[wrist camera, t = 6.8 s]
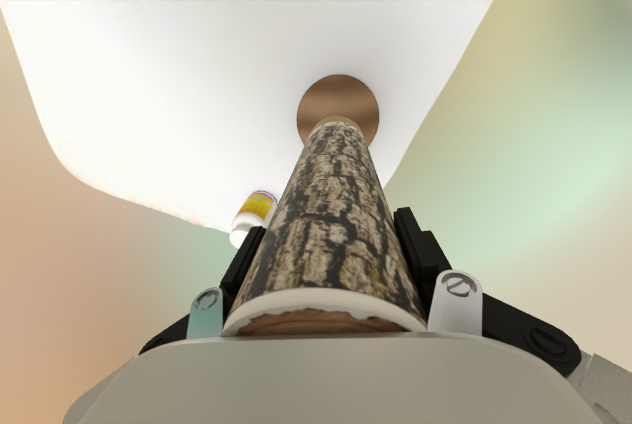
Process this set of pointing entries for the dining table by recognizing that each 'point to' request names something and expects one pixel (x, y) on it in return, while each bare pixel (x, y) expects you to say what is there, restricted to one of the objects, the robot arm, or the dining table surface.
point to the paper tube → (329, 250)
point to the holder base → (338, 105)
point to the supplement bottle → (252, 216)
